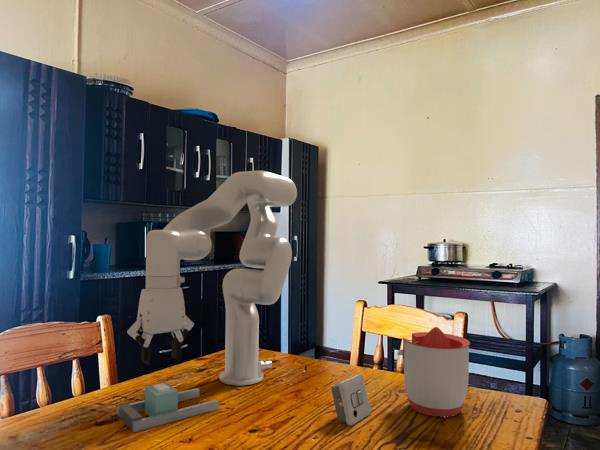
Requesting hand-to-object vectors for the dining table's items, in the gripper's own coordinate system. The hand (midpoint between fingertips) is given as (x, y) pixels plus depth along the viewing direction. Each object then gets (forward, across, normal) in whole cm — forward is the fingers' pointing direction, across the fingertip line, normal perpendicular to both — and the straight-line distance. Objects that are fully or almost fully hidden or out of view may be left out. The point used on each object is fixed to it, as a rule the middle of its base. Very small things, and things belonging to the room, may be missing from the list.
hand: (161, 359), depth 104 cm
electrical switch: (+13, -34, +28) cm, 46 cm away
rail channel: (+13, -2, 0) cm, 13 cm away
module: (+13, 0, 0) cm, 13 cm away
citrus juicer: (+13, -54, +36) cm, 66 cm away
